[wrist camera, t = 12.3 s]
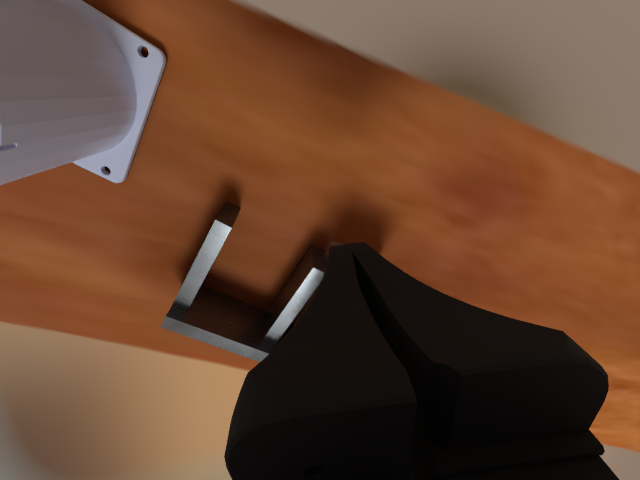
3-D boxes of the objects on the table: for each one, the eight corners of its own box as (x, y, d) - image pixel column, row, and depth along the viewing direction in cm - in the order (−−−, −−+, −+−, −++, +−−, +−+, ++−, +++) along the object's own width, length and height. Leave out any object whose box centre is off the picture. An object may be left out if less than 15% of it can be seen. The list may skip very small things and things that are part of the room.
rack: (182, 289, 22) (154, 337, 18) (226, 201, 19) (206, 233, 15) (392, 373, 28) (409, 424, 24) (450, 316, 25) (481, 362, 21)
